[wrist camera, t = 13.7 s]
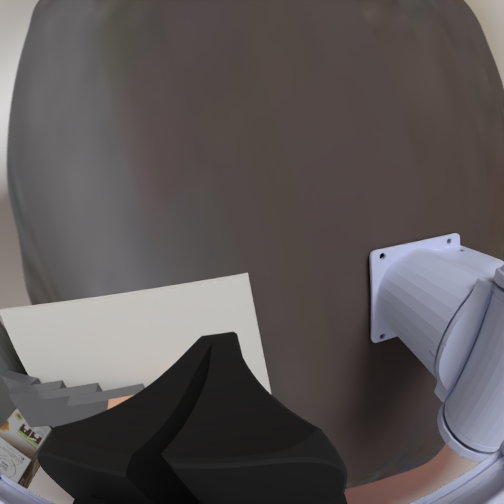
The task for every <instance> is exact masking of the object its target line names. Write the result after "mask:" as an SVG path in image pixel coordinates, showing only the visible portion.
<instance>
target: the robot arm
mask: <svg viewBox="0 0 504 504" xmlns="http://www.w3.org/2000/svg"><path fill="white" fill-rule="evenodd" d="M447 240H448V243H447ZM382 253H383V257H382V258H381V259H380V255H381V254H382ZM369 262H370V285H371V340H372V341H373V342H374V343H378V342H381V341H384V340H388V339H391V338H394V337H397V336H398V337H399V338H400V339H401V340H402V341H403V343H404V344H405V345H406V346H407V347H408V348H409V349H410V350H411V351H412V352H413V353H414V354H415V356H416V357H417V358H418V359H419V360H420V361H421V362H422V363H423V364H424V365H425V367H426V368H427V369H428V370H429V371H430V372H431V373H432V374H433V375H434V377H435V378H436V379H437V386H436V389H435V391H434V393H435V394H436V395H437V396H438V397H439V399H440V400H441V401H442V402H443V404H442V406H441V408H440V409H439V413H438V417H437V423H438V428H439V432H440V434H441V436H442V438H443V440H444V441H445V443H446V444H447V445H448V446H449V447H450V448H451V449H452V450H453V451H454V452H455V453H456V454H458V455H460V456H461V457H463V458H465V459H468V460H471V461H475V462H480V463H479V464H478V465H476V466H475V467H473V468H472V469H470V470H469V471H467V472H466V473H464V474H463V475H461V476H459V477H458V478H456V479H455V480H453V481H451V482H450V483H448V484H446V485H444V486H443V487H441V488H439V489H437V490H435V491H434V492H432V493H430V494H428V495H426V496H424V497H422V498H419V499H417V500H415V501H413V502H411V503H409V504H504V261H502V260H499V259H497V258H494V257H491V256H489V255H486V254H483V253H481V252H478V251H475V250H472V249H469V248H466V247H463V246H461V245H460V236H459V235H458V234H456V233H453V234H448V235H444V236H439V237H435V238H430V239H426V240H421V241H416V242H412V243H407V244H402V245H397V246H392V247H388V248H383V249H378V250H374V251H372V252H371V253H370V255H369ZM382 334H383V336H381V335H382ZM380 336H381V337H380ZM37 459H38V462H39V464H40V465H41V467H42V468H43V470H44V471H45V472H46V473H47V474H48V475H49V476H50V477H51V478H52V479H53V480H54V481H55V482H56V483H57V484H58V485H59V486H60V487H62V488H63V489H64V490H65V491H66V492H67V493H68V494H70V495H71V496H72V497H73V498H74V499H75V500H74V502H73V504H347V501H346V498H345V494H344V492H345V486H346V481H347V470H346V467H345V465H344V462H343V460H342V459H341V457H340V455H339V453H338V452H337V450H336V449H335V447H334V446H333V445H332V443H331V442H330V440H329V439H328V438H327V437H326V435H325V434H324V433H323V432H322V430H321V429H320V428H318V427H316V426H314V425H312V424H311V423H309V422H307V421H305V420H304V419H302V418H300V417H299V416H297V415H296V414H294V413H293V412H292V411H290V410H289V409H287V408H286V407H285V406H284V405H282V404H281V403H280V402H279V401H278V400H277V399H275V398H274V397H273V396H272V395H271V394H270V393H269V392H268V391H267V390H266V389H265V388H264V387H263V386H262V385H261V383H260V382H259V381H258V380H257V379H256V377H255V376H254V375H253V373H252V372H251V370H250V369H249V367H248V366H247V364H246V362H245V360H244V358H243V356H242V352H241V348H240V344H239V340H238V336H237V333H235V332H227V333H220V334H213V335H205V336H201V337H200V338H199V339H198V340H197V341H196V342H195V343H194V344H193V345H192V346H191V347H190V348H189V349H188V350H187V351H186V352H185V353H184V354H183V355H182V356H181V357H180V358H179V359H178V360H177V361H176V362H175V363H174V364H173V365H172V366H171V367H170V368H169V369H168V370H167V371H165V372H164V373H163V374H162V375H161V376H160V377H159V378H157V379H156V380H155V381H154V382H152V383H151V384H150V385H148V386H147V387H146V388H144V389H143V390H141V391H140V392H138V393H137V394H135V395H134V396H132V397H130V398H128V399H127V400H125V401H123V402H121V403H120V404H118V405H116V406H114V407H112V408H110V409H108V410H105V411H103V412H101V413H98V414H96V415H93V416H91V417H88V418H85V419H82V420H79V421H75V422H72V423H68V424H64V425H61V426H56V427H54V428H53V429H52V431H51V433H50V434H49V436H48V437H47V439H46V441H45V442H44V444H43V445H42V447H41V449H40V450H39V452H38V453H37ZM0 504H55V503H53V502H51V501H49V500H47V499H45V498H43V497H41V496H39V495H37V494H35V493H33V492H31V491H30V490H28V489H26V488H24V487H23V486H21V485H19V484H18V483H16V482H14V481H13V480H11V479H9V478H8V477H6V476H5V475H3V474H2V473H1V471H0Z"/></svg>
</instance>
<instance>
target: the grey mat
mask: <svg viewBox="0 0 504 504" xmlns="http://www.w3.org/2000/svg"><path fill="white" fill-rule="evenodd" d="M0 314H1V317H2V320H3V322H4V325H5V327H6V330H7V332H8V334H9V337H10V339H11V341H12V343H13V346H14V348H15V350H16V352H17V354H18V356H19V358H20V360H21V362H22V364H23V366H24V368H25V370H26V371H27V373H28V375H29V376H32V377H36V378H38V379H39V381H40V383H48V382H54V381H60V380H63V382H64V384H65V386H66V387H67V388H68V387H75V386H81V385H87V384H93V383H98V384H99V385H100V387H101V389H102V391H106V390H112V389H117V388H122V387H127V386H132V385H137V384H142V383H143V385H144V387H145V388H146V387H147V386H148V385H150V384H151V383H152V382H154V381H155V380H156V379H157V378H159V377H160V376H161V375H162V374H163V373H164V372H165V371H167V370H168V369H169V368H170V367H171V366H172V365H173V364H174V363H175V362H176V361H177V360H178V359H179V358H180V357H181V356H182V355H183V354H184V353H185V352H186V351H187V350H188V349H189V348H190V347H191V346H192V345H193V344H194V343H195V342H196V341H197V340H198V339H199V338H200V337H201V336H205V335H213V334H220V333H227V332H235V333H237V336H238V340H239V344H240V348H241V352H242V356H243V358H244V360H245V362H246V364H247V366H248V367H249V369H250V370H251V372H252V373H253V375H254V376H255V377H256V379H257V380H258V381H259V382H260V383H261V385H262V386H263V387H264V388H265V389H266V390H267V391H268V392H269V393H270V394H271V389H270V384H269V379H268V374H267V369H266V364H265V359H264V354H263V348H262V343H261V338H260V333H259V328H258V323H257V318H256V312H255V307H254V302H253V297H252V292H251V286H250V281H249V276H248V273H244V274H238V275H233V276H227V277H221V278H215V279H209V280H203V281H197V282H191V283H184V284H178V285H172V286H166V287H159V288H153V289H146V290H140V291H133V292H126V293H120V294H113V295H106V296H99V297H92V298H85V299H77V300H70V301H63V302H55V303H47V304H39V305H31V306H23V307H15V308H6V309H1V310H0ZM271 395H272V394H271Z"/></svg>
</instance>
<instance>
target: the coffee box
mask: <svg viewBox="0 0 504 504" xmlns="http://www.w3.org/2000/svg"><path fill="white" fill-rule="evenodd" d="M51 431H52V429H51V428H50V427H49V426H42V427H30V426H29V425H28V423H27V422H26V420H25V419H24V418H23V416H22V415H21V413H20V412H19V410H18V409H16V410H15V411H14V412H13V414H12V415H11V416H10V417H9V418H8V420H7V421H6V422H5V424H4V425H3V426H2V427H1V428H0V471H1V473H2V474H3V475H5V476H6V477H8V478H9V479H11V480H13V481H14V482H16V483H18V484H19V485H21V486H23V487H24V488H26V489H27V488H28V487H29V485H30V483H31V481H32V479H33V477H34V476H35V474H36V472H37V470H38V468H39V467H40V464H39V462H38V459H37V453H38V452H39V450H40V449H41V447H42V445H43V444H44V442H45V441H46V439H47V437H48V436H49V434H50V433H51Z"/></svg>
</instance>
